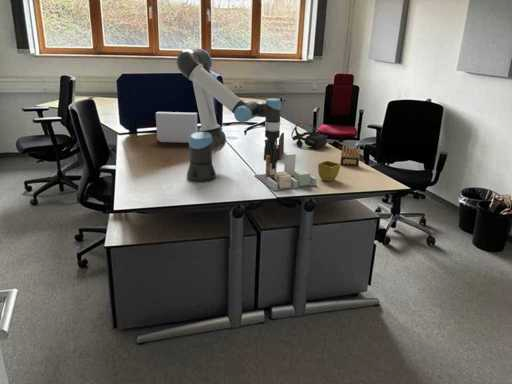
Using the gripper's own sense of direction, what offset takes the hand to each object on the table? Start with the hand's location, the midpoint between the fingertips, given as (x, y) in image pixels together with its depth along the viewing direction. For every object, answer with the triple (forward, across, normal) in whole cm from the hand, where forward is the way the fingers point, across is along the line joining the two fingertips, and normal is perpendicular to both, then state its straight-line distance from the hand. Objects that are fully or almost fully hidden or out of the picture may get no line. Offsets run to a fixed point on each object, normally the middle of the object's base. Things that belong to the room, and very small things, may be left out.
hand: (270, 173), depth 224 cm
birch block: (+2, -8, 0) cm, 8 cm away
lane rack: (+3, -6, -6) cm, 8 cm away
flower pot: (+3, -12, -28) cm, 31 cm away
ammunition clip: (+3, +6, -54) cm, 54 cm away
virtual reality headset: (+3, +55, -54) cm, 77 cm away
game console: (+3, +93, +28) cm, 97 cm away
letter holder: (+3, +40, -21) cm, 45 cm away
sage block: (+2, -8, -11) cm, 14 cm away
